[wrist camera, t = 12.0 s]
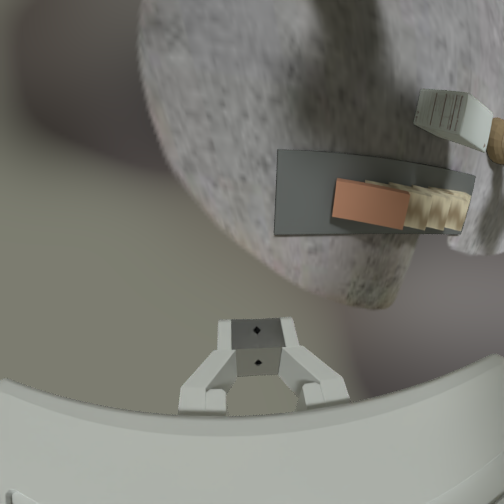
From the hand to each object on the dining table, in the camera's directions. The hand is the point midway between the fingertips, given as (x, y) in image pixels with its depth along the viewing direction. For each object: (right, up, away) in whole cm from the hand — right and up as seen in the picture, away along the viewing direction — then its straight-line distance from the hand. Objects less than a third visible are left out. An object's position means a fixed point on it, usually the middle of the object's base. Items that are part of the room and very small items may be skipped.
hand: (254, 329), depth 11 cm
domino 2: (+18, +12, +31) cm, 38 cm away
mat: (+26, +13, +33) cm, 44 cm away
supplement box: (+32, +28, +25) cm, 49 cm away
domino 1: (+13, +12, +31) cm, 35 cm away
